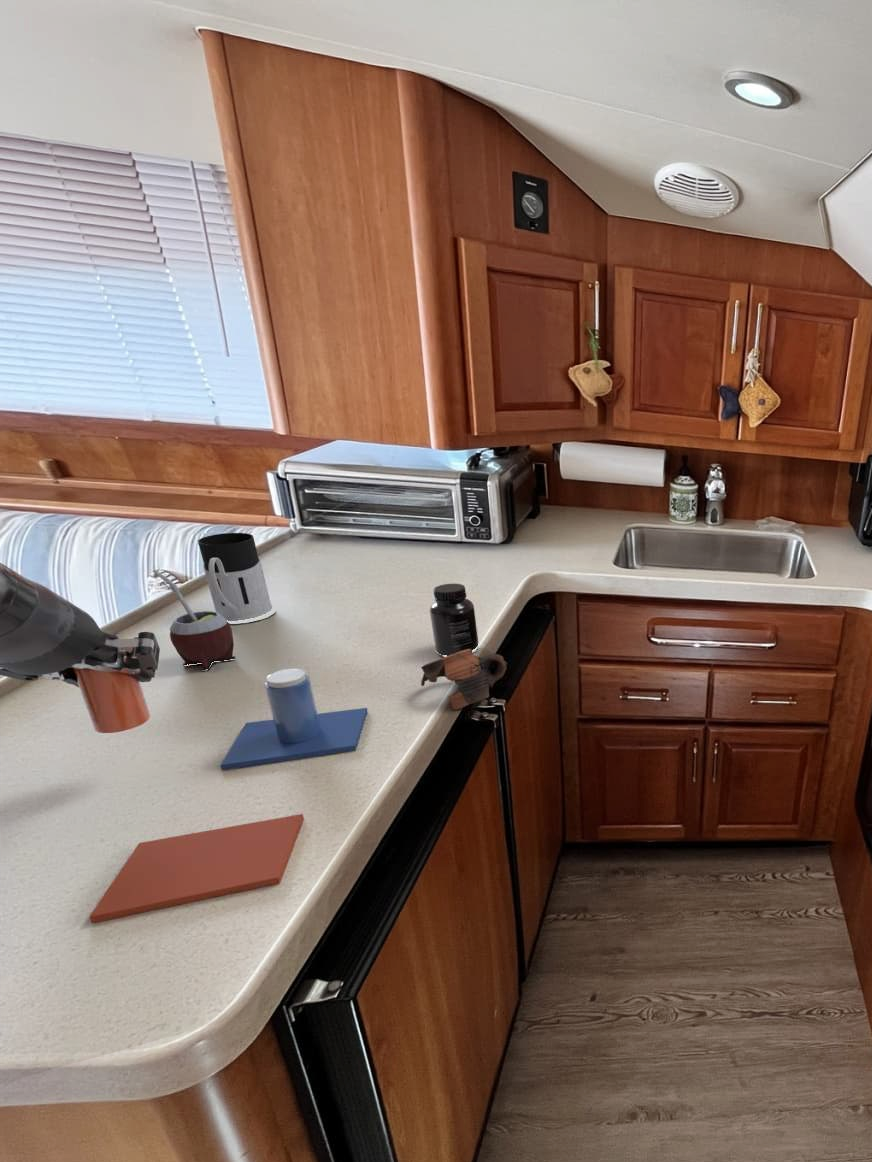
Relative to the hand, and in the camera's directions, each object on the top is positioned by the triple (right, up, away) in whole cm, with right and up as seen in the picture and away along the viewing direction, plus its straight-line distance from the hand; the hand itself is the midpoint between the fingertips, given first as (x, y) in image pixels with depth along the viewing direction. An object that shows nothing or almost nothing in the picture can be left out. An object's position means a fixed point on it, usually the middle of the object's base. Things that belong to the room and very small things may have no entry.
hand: (117, 676), depth 74 cm
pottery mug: (+28, -6, +26) cm, 38 cm away
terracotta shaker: (0, -5, 0) cm, 6 cm away
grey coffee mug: (-23, +5, +42) cm, 48 cm away
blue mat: (+12, -10, +12) cm, 20 cm away
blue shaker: (+12, -9, +11) cm, 19 cm away
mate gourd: (-16, -1, +28) cm, 32 cm away
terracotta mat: (+19, -19, -9) cm, 28 cm away
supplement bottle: (+19, 0, +38) cm, 43 cm away
